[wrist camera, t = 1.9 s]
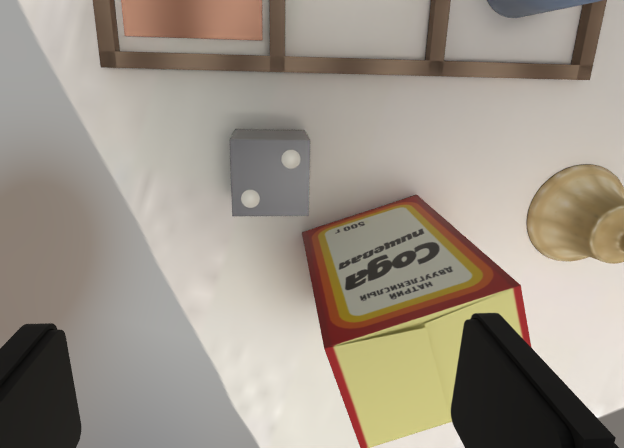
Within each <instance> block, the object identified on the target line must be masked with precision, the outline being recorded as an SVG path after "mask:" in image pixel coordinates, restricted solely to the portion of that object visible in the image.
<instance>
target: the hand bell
mask: <svg viewBox="0 0 624 448" xmlns="http://www.w3.org/2000/svg"><path fill="white" fill-rule="evenodd" d="M527 229H528V234H529V237H530V240H531V242H532V244H533V245H534V246H535V248H536V249H537V250H538V251H539V252H540V253H542V254H543V255H545V256H546V257H548V258H551V259H554V260H559V261H576V260H581V259H585V258H587V257H592V258H595V259H598V260H600V261H602V262H606V263H621V262H624V188H623V186H622V184H621V182H620V180H619V179H618V178H617V177H616V176H615V175H614V174H613V173H612V172H610V171H609V170H607V169H605V168H603V167H600V166H596V165H577V166H573V167H569V168H566V169H564V170H562V171H561V172H559V173H557V174H555V175H554V176H552V177H551V178H550V179H549V180H548V181H547V182H545V183H544V184H543V185H542V187H541V188H540V189H539V191H538V192H537V193H536V195H535V196H534V198H533V200H532V203H531V205H530V208H529V212H528V218H527Z"/></svg>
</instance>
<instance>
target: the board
mask: <svg viewBox="0 0 624 448" xmlns="http://www.w3.org/2000/svg"><path fill="white" fill-rule="evenodd" d="M121 2H122V12H123V22H124V32H125V36H142V37H173V38H204V39H235V40H262V0H121ZM450 2H451V0H431V7H430V17H429V27H428V37H427V47H426V57H425V60H392V59H358V58H324V57H290V56H285V0H270V56H255V55H221V54H187V53H153V52H120V50H119V41H118V31H117V22H116V12H115V3H114V0H93V6H94V15H95V23H96V31H97V40H98V48H99V56H100V65H101V67H109V68H147V69H186V70H224V71H262V72H300V73H339V74H377V75H415V76H453V77H492V78H530V79H568V80H590V76H591V71H592V67H593V62H594V58H595V53H596V48H597V44H598V39H599V34H600V30H601V25H602V20H603V16H604V11H605V7H606V2H607V0H602V1H598V2H593V3H588V4H583V7H582V12H581V17H580V22H579V27H578V32H577V37H576V42H575V47H574V52H573V57H572V62H571V65H562V64H528V63H494V62H460V61H444V55H445V46H446V37H447V28H448V20H449V11H450Z"/></svg>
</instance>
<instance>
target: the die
mask: <svg viewBox="0 0 624 448" xmlns="http://www.w3.org/2000/svg"><path fill="white" fill-rule="evenodd" d="M230 162H231V191H232V216H309V171H310V139H309V137H308V135H307V134H306V132H305V130H258V129H235V131H234V132H233V134H232V136H231V138H230Z"/></svg>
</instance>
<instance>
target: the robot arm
mask: <svg viewBox="0 0 624 448" xmlns="http://www.w3.org/2000/svg"><path fill="white" fill-rule="evenodd" d="M451 419H452V422H453V425H454V427H455V429H456V431H457V433H458V435H459V437H460V439H461V441H462V443H463V444H464V446H465V448H619V447H618V446H617V445H616V444H615V443H614V441H615V437H614V436H613V435H612V434H611V433H610V431H608V429H607V428H606V427H605V426H604V425H603V424H602V423H601V422H600V421H599V420H598V419H597V418H596V416H595V415H594V414H593V413H592V412H591V411H590V410H589V409H588V408H587V407H586V406H585V405H584V404H583V403H582V401H581V400H580V399H579V398H578V397H577V396H576V395H575V394H574V393H573V392H572V391H571V390H570V389H569V388H568V387H567V385H566V384H565V383H564V382H563V381H562V380H561V379H560V378H559V377H558V376H557V375H556V374H555V373H554V372H553V370H552V369H551V368H550V367H549V366H548V365H547V364H546V363H545V362H544V361H543V360H542V359H541V358H540V357H539V355H538V354H537V353H536V352H535V351H534V350H533V349H532V348H531V347H530V346H529V345H528V344H527V343H526V342H525V341H524V339H523V338H522V337H521V336H520V335H519V334H518V333H517V332H516V331H515V330H514V329H513V328H512V327H511V326H510V324H509V323H508V322H507V321H506V320H505V319H504V318H503V317H502V316H501V315H500V314H499V313H474V314H473V315H472V316H471V319H467V320H465V322H464V326H463V332H462V339H461V345H460V352H459V358H458V365H457V371H456V377H455V384H454V390H453V397H452V403H451ZM80 435H81V421H80V415H79V410H78V404H77V399H76V392H75V387H74V381H73V376H72V370H71V364H70V359H69V353H68V347H67V341H66V336H65V333H64V331H63V330H57V328H56V326H55V325H54V324H25V325H23V326H22V327H21V328H20V329H19V330H18V331H17V332H16V333H15V334H14V335H13V336H12V337H11V338H10V339H9V340H8V341H7V342H6V343H5V344H4V346H2V348H1V349H0V448H76V446H77V444H78V442H79V439H80Z"/></svg>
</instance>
